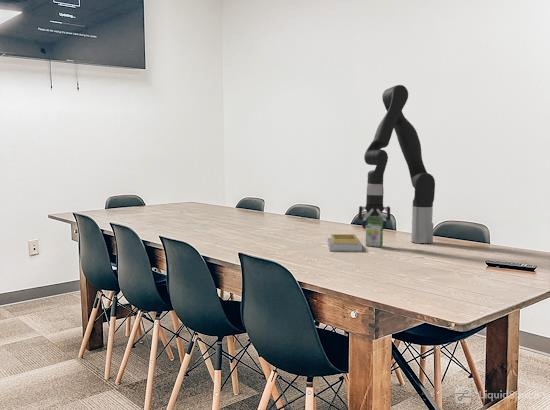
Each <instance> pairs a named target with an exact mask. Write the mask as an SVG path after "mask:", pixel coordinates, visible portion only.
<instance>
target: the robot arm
mask: <svg viewBox="0 0 550 410" xmlns="http://www.w3.org/2000/svg"><path fill="white" fill-rule="evenodd" d="M408 99H409V91H408V89H407V88H406V86H405V85H404V84H403V85H402V84H397V85H394V86H392V87H389V88H387V89H385V90H384V91H383V93H382V99H381V100H382V103H383V105H384V108H385V110H386V113H385V115H384V116H383V118H382V119H381V121H380V123H379V124H378V126H377V128H376V131H375V135H374V137H373V140H372V142H371V143H370V144H369V146H368V147H367V148H366V150H365V153H364V159H363V160H364V162H365V164H366V165H369V166H375V168H374V169H372V170H369V171H368V172H367V182H366V183H367V184H366V201H365V202H366V203H365V206H361V205H360V206H358V207H359V208H358V219H359V220H360V221H361V226H362V228H363V230H366V225H367V222H366V220H367V219H369V216H372V217H381V218H382V219H383V230H385V229H386V228H387V221H390V220H391V207H390V206H384V193H385V192H384V189H385V188H384V174H385V171H386V168H387V165H388V159H389V155H388V153H387V151H386V150H384V148H386V147H388V146H389V144H390V141H391V138H392V135H393V131H394V132H395V135H396V138H397V141H398V144H399V147H400V150H401V153H402V156H403V157H404V160H405V162H406V165H407V168H408V172H409V177H410V180H411V181H410V182H411V185H412V187H413V189H414V197H413V199H412V210H411V211H412V212H411V213H412V214H411V218H412V219H411V243H413V242H415V243H414V244H419V243H424V244H425V243H426V244H427V243H429V244H433V242H434V222H433V208H434V207H433V206H434V201H435V192H436V180H435V177H434V176H433V175H432V174H431V173H428V172H427V169H426V167H425V165H424V161H423V158H422V157H423V156H422V146H421V141H420V138H419V136H418V135H419V134H418V132H417V129H416V128H415V127H414V125H413V124H412V123H410V121H409V120H408V118H406V117H405V114H404V113H403V109H404V107H405V105H406V104H407V102H408ZM384 210H385V212H386V217H385V215H384V214H383V211H384ZM363 211H366V213H365V214H364V216H363ZM424 244H423V245H424Z"/></svg>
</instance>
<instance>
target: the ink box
mask: <svg viewBox="0 0 550 410" xmlns="http://www.w3.org/2000/svg"><path fill="white" fill-rule="evenodd" d="M377 220H378V221H377ZM383 230H384V229H383V219H382V218H381V216H370V215H369V217H368V222H367V223H366V229H365V247H372V246H374V248H382V247H383V240H384V237H383V236H384V235H383V234H384V231H383ZM381 246H382V247H381Z"/></svg>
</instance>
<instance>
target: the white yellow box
mask: <svg viewBox="0 0 550 410" xmlns="http://www.w3.org/2000/svg"><path fill="white" fill-rule="evenodd" d="M327 247H328V250H330V251H329V252H363V244H362V243H361V240H360V239H359V238H358V236H357V235H356V234H355V233H354V234H351V233H350V234H339V233H337V234H336V233H333V234H331V233H330V237H327Z"/></svg>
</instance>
